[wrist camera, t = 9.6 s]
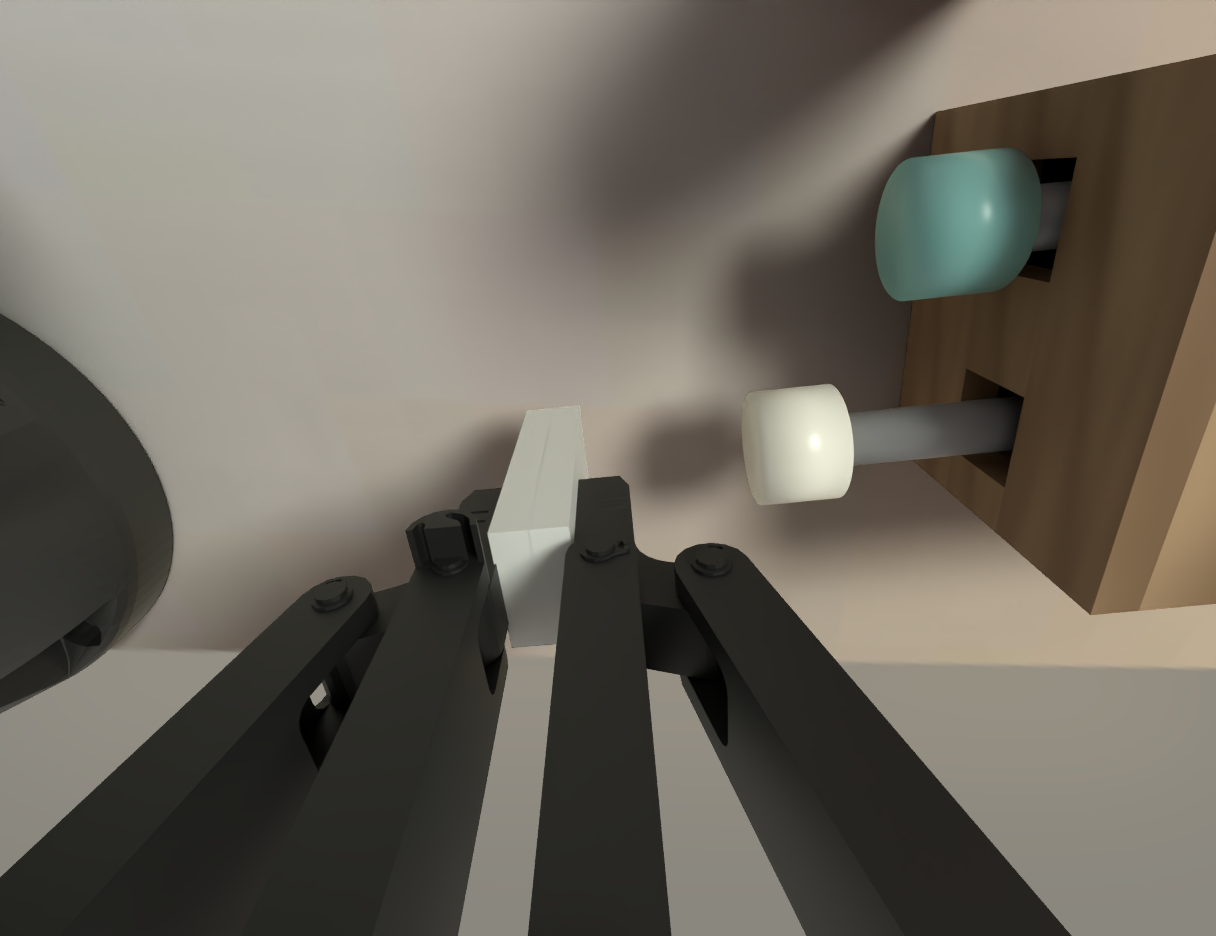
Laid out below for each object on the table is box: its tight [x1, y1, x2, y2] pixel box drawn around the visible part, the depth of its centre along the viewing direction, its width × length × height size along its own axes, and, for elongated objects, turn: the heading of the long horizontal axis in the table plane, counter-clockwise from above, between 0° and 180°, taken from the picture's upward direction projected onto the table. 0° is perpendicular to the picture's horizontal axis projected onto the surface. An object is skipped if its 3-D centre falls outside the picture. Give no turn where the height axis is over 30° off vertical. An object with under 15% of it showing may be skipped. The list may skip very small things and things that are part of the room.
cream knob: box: [742, 384, 1024, 505], centre depth 15 cm, size 8×3×3 cm, turn 96°
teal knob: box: [875, 147, 1072, 301], centre depth 13 cm, size 8×3×3 cm, turn 96°
